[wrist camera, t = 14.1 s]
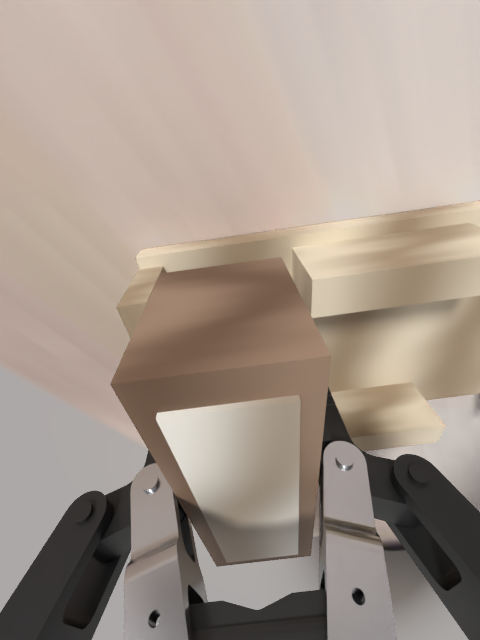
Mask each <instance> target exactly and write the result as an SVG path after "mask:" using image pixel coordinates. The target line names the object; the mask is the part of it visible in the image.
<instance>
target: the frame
mask: <svg viewBox="0 0 480 640" xmlns="http://www.w3.org/2000/svg"><path fill="white" fill-rule="evenodd" d="M330 363H331V354H330V352H329V350H328V348H327V346H326V344H325V342H324V340H323V338H322V336H321V334H320V332H319V330H318V329H317V327H316V325H315V323H314V321H313V319H312V317H311V315H310V313H309V311H308V309H307V307H306V305H305V303H304V301H303V299H302V297H301V295H300V293H299V291H298V289H297V287H296V285H295V283H294V281H293V279H292V277H291V275H290V273H289V271H288V269H287V267H286V265H285V263H284V261H283V259H282V257H277V258H270V259H262V260H255V261H248V262H240V263H233V264H226V265H219V266H211V267H204V268H197V269H189V270H182V271H175V272H167V273H160V275H159V277H158V279H157V282H156V284H155V286H154V288H153V291H152V293H151V295H150V297H149V299H148V302H147V304H146V306H145V308H144V311H143V313H142V315H141V317H140V319H139V322H138V324H137V326H136V328H135V331H134V333H133V335H132V337H131V339H130V342H129V344H128V346H127V348H126V351H125V353H124V355H123V357H122V359H121V362H120V364H119V366H118V368H117V371H116V373H115V375H114V377H113V379H112V382H111V384H110V385H111V386H112V388H113V390H114V391H115V393H116V395H117V396H118V398H119V400H120V402H121V403H122V405H123V407H124V408H125V410H126V412H127V414H128V415H129V417H130V419H131V420H132V422H133V424H134V426H135V427H136V429H137V431H138V432H139V434H140V436H141V438H142V439H143V441H144V443H145V444H146V446H147V448H148V449H149V451H150V453H151V455H152V456H153V458H154V460H155V461H156V463H157V465H158V467H159V468H160V470H161V472H162V473H163V475H164V477H165V479H166V480H167V482H168V484H169V485H170V487H171V489H172V491H173V492H174V494H175V496H176V497H177V499H178V501H179V503H180V504H181V506H182V508H183V509H184V511H185V513H186V514H187V516H188V518H189V520H190V521H191V523H192V525H193V526H194V528H195V530H196V531H197V533H198V535H199V537H200V538H201V540H202V542H203V543H204V545H205V547H206V549H207V550H208V552H209V553H210V556H211V557H212V559H213V561H214V562H215V564H216V566H226V565H234V564H242V563H252V562H259V561H268V560H278V559H287V558H295V557H304V556H310V555H311V548H312V538H313V529H314V519H315V509H316V499H317V490H318V480H319V470H320V461H321V451H322V441H323V431H324V422H325V412H326V402H327V393H328V383H329V373H330Z"/></svg>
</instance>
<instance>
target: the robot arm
mask: <svg viewBox="0 0 480 640" xmlns="http://www.w3.org/2000/svg"><path fill="white" fill-rule="evenodd" d="M318 482H319V486H320V491H319V540H320V541H319V546H320V547H319V590H315V591H306V592H298V593H291V594H289V595H287V596H286V597H284V598H282V599H280V600H278V601H276V602H274V603H272V604H270V605H268V606H266V607H265V608H263V609H260V610H253V609H250V608H246V607H243V606H239V605H236V604H232V603H228V602H225V601H216V602H208V600H207V595H206V590H205V585H204V581H203V577H202V573H201V570H200V567H199V563H198V559H197V554H196V548H195V542H194V537H193V531H192V526H191V521H190V520H189V518H188V516H187V514H186V513H185V511H184V509H183V508H182V506H181V504H180V503H179V501H178V499H177V497H176V496H175V494H174V492H173V491H172V489H171V487H170V485H169V484H168V482H167V480H166V479H165V477H164V475H163V473H162V472H161V470H160V468H159V467H158V465H157V463H156V461H155V460H154V458H153V456H152V455H151V453H150V451H149V450H148V454H147V459H146V463H145V466H144V468H143V469H142V470H140V472H139V473H138V474H137V475H136V477H135V478H134V480H133V481H132V482H131V483H129V484H128V485H126V486H124V487H122V488H120V489H118V490H116V491H113V492H111V493H109V494H107V495H104V494H102V493H101V492H99V491H90V492H87V493H85V494H83V495H81V496H80V497H79V498H77V499H76V500H75V501H74V502H73V503H72V504H71V506H70V507H69V508H68V510H67V511H66V513H65V514H64V516H63V517H62V519H61V520H60V522H59V523H58V525H57V526H56V528H55V530H54V531H53V533H52V534H51V536H50V537H49V539H48V541H47V542H46V543H45V545H44V546H43V548H42V550H41V551H40V553H39V554H38V556H37V558H36V559H35V560H34V562H33V564H32V565H31V566H30V568H29V570H28V571H27V573H26V574H25V576H24V577H23V579H22V580H21V582H20V583H19V585H18V587H17V588H16V590H15V591H14V593H13V594H12V596H11V597H10V599H9V600H8V602H7V603H6V605H5V607H4V608H3V610H2V611H1V613H0V640H91V639H92V637H93V635H94V632H95V630H96V628H97V626H98V624H99V621H100V619H101V616H102V614H103V612H104V610H105V608H106V605H107V603H108V601H109V598H110V596H111V594H112V592H113V589H114V587H115V585H116V583H117V580H118V578H119V576H120V574H121V571H122V569H123V567H124V564H125V562H126V560H127V558H128V555H129V553H130V551H131V561H130V563H129V564H128V565H127V567H126V571H125V577H124V640H397V636H396V629H395V623H394V617H393V610H392V603H391V597H390V590H389V584H388V577H387V570H386V563H385V557H384V550H383V546H382V542H381V539H380V536H379V535H378V534H377V532H376V528H375V522H374V518H376V519H379V520H383V521H386V523H387V524H388V525H389V527H390V528H391V530H392V531H393V533H394V534H395V535H396V537H397V538H398V540H399V541H400V543H401V544H402V545H403V547H404V548H405V550H406V551H407V552H408V554H409V555H410V557H411V558H412V559H413V561H414V562H415V564H416V565H417V566H418V568H419V570H420V571H421V572H422V574H423V575H424V577H425V578H426V579H427V581H428V582H429V583H430V585H431V587H432V588H433V589H434V591H435V592H436V594H437V595H438V596H439V598H440V599H441V601H442V602H443V604H444V605H445V606H446V608H447V609H448V611H449V612H450V614H451V615H452V616H453V618H454V619H455V620H456V622H457V623H458V625H459V626H460V628H461V629H462V631H463V632H464V633H465V635H466V636H467V638H468V639H469V640H480V512H479V511H478V510H477V509H476V508H475V507H474V506H473V505H472V504H471V503H470V502H469V501H468V500H467V499H466V498H465V497H464V496H463V495H462V494H461V493H460V492H459V491H458V490H457V489H456V488H455V487H454V486H453V485H452V484H451V483H450V482H449V481H448V480H447V479H446V478H445V477H444V476H443V475H442V474H441V473H440V471H439V470H438V469H437V468H436V467H435V466H433V465H432V464H431V463H430V462H429V461H427V460H426V459H424V458H422V457H419V456H416V455H412V454H405V455H401V456H399V457H398V458H397V459H396V460H390V459H386V458H381V457H376V456H372V455H369V454H367V453H365V452H363V451H362V450H360V449H359V448H358V447H357V446H356V445H355V444H354V443H353V441H352V440H351V438H350V436H349V434H348V432H347V429H346V427H345V425H344V422H343V420H342V418H341V415H340V413H339V411H338V408H337V406H336V405H335V401H334V399H333V397H332V394H331V392H330V390H329V387H328V393H327V402H326V412H325V422H324V431H323V441H322V451H321V461H320V470H319V480H318ZM156 621H158V622H159V624H158V626H157V627H156Z"/></svg>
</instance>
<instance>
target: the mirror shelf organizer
mask: <svg viewBox="0 0 480 640" xmlns="http://www.w3.org/2000/svg"><path fill="white" fill-rule="evenodd" d="M277 257H282V259H283V261H284V263H285V265H286V267H287V269H288V271H289V273H290V275H291V277H292V279H293V281H294V283H295V285H296V287H297V289H298V291H299V293H300V295H301V297H302V299H303V301H304V303H305V305H306V307H307V309H308V311H309V313H310V315H311V317H312V319H313V321H314V323H315V325H316V327H317V329H318V330H319V332H320V334H321V336H322V338H323V340H324V342H325V344H326V346H327V348H328V350H329V352H330V354H331V363H330V373H329V383H328V387H329V390H330V392H331V394H332V397H333V399H334V401H335V405H336V406H337V408H338V411H339V413H340V415H341V418H342V420H343V422H344V425H345V427H346V429H347V432H348V434H349V436H350V438H351V440H352V441H353V443H354V444H355V445H356V446H357V447H358V448H359V449H360V450H362V451H369V450H377V449H385V448H394V447H402V446H410V445H418V444H426V443H435V442H438V440H439V438H440V436H441V434H442V432H443V431H444V429H445V427H446V426H445V424H444V423H443V422H442V420H441V419H440V418H439V417H438V415H437V414H436V413H435V411H434V410H433V409H432V408H431V406H430V405H429V404H428V402H427V401H426V400H432V399H439V398H447V397H455V396H463V395H471V394H479V393H480V201H476V202H469V203H463V204H456V205H449V206H442V207H435V208H428V209H421V210H414V211H407V212H400V213H393V214H386V215H379V216H372V217H365V218H358V219H351V220H344V221H337V222H330V223H323V224H316V225H309V226H302V227H296V228H289V229H282V230H275V231H268V232H261V233H254V234H247V235H240V236H233V237H226V238H219V239H212V240H205V241H198V242H191V243H184V244H177V245H170V246H163V247H156V248H149V249H142V250H141V251H140V253H139V254H138V255H137V257H136V261H137V263H138V266H139V269H140V270H139V271H138V273H137V275H136V276H135V278H134V279H133V281H132V283H131V284H130V286H129V288H128V289H127V291H126V292H125V294H124V296H123V297H122V299H121V300H120V302H119V304H118V305H117V307H116V308H117V310H118V312H119V314H120V316H121V318H122V321H123V323H124V325H125V327H126V329H127V331H128V334H129V336H130V338H131V337H132V335H133V333H134V331H135V328H136V326H137V324H138V322H139V319H140V317H141V315H142V313H143V311H144V308H145V306H146V304H147V302H148V299H149V297H150V295H151V293H152V291H153V288H154V286H155V284H156V282H157V279H158V277H159V275H160V273H167V272H175V271H182V270H189V269H197V268H204V267H211V266H219V265H226V264H233V263H240V262H248V261H255V260H262V259H270V258H277Z"/></svg>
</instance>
